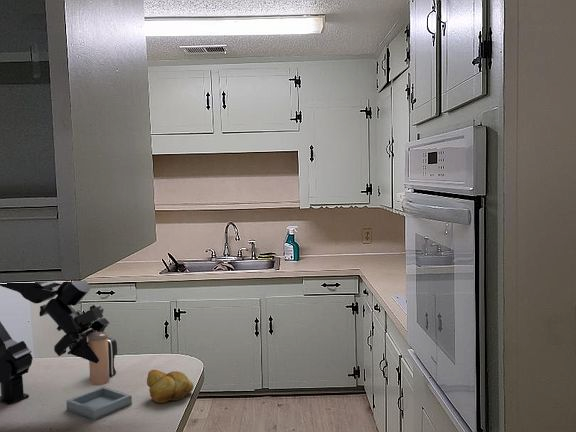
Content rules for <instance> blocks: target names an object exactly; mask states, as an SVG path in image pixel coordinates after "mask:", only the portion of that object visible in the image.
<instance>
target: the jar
mask: <svg viewBox="0 0 576 432" xmlns="http://www.w3.org/2000/svg"><path fill="white" fill-rule="evenodd" d="M108 338H109V332H106V331H104V332H94V333H91V334H89V335H88V339H87V342H88V343H89V347H90V348H91V349H92V351H93V352H94V353H95V355H96V356H97V357H98V359H99V362H98V363H94V362H91V361H89V360H88V362H89V363H88V364H89V366H88V368H89V383H90V385H91V386H95V387H96V386H104V385H106V384H109V383H110V376H109V355H108Z"/></svg>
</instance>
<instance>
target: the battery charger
mask: <svg viewBox="0 0 576 432" xmlns="http://www.w3.org/2000/svg"><path fill="white" fill-rule="evenodd" d="M108 350H109V353H110V355H109V377H111V376H114V375H116V374H117V370H116V369H115V358H116V356H117V355H118V344H117V341H116V339H115V338H113V337H108Z"/></svg>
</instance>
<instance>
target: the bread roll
mask: <svg viewBox="0 0 576 432" xmlns="http://www.w3.org/2000/svg"><path fill="white" fill-rule="evenodd" d="M146 378H147V379H146V384H147V386H148V387H149V389H148V390H149V396H150V398H151V399H152V400H153V401H154V402H156V403H166V402H169V401H177V400H180V399H181V400H182V399H183V398H184V397H186V396H188V395H189V394H191V392H192V391H193V389H194V383H193V382H192V380H190V379H189V378H188V376H187V375H186V374H185V373H183V372H181V371H177V370H176V371H174V370H173V371H170V372H168V373H166V372H163V371H161V370H157V369H151V370H149V372H148V373H147V377H146Z"/></svg>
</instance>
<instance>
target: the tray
mask: <svg viewBox="0 0 576 432" xmlns="http://www.w3.org/2000/svg"><path fill="white" fill-rule="evenodd" d="M132 401H133V400H132V395H131V394H128V393H125V392H122V391H120V390H116V389H112V388H109V387H106V386H100V387H99V388H96V389H93V390H91V391H88V392H85V393H83V394H80V395H78V396H75V397H72V398H69V399H67V400H66V410H67V411H69V412H73V413H75V414H78V415H80V416H82V417H86V418H88V419H91V420H93V421H95V420H98V419H101V418H104V417H105V416H108V415H109V414H110V415H111V414H112V413H115V412H118V411H120V410H121V409H124V408H126V407H129V406H131V405H132V404H133V402H132Z"/></svg>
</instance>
